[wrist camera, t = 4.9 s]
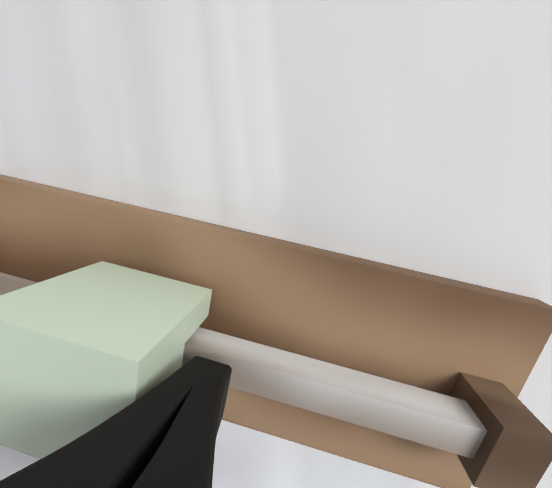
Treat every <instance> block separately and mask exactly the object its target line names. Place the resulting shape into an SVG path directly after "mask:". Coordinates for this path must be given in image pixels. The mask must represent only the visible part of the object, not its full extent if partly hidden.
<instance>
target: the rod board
mask: <svg viewBox="0 0 552 488" xmlns="http://www.w3.org/2000/svg"><path fill="white" fill-rule="evenodd" d="M101 261H104V262H108V263H112V264H116V265H120V266H123V267H127V268H131V269H135V270H139V271H143V272H147V273H150V274H154V275H158V276H162V277H166V278H170V279H174V280H177V281H181V282H185V283H189V284H193V285H197V286H201V287H204V288H208V289H212V295H211V301H210V308H209V314H208V316H207V318H206V319H205V320H204V321H203V322H202V324H201V325H200V326H199V327H198V328H197V329H196V331H195V332H194V333H193V334H192V335H191V337H190V338H189V339H188V340H187V341H186V343H185V346H184V353H183V361H182V366H183V365H184V364H186V363H187V362H188V361H189V360H191V359H192V358H193V357H195V356H199V357H203V358H206V359H210V360H213V361H217V362H220V363H223V364H227V365H230V367H231V368H232V372H231V377H230V383H229V388H228V393H227V398H226V403H225V408H224V413H223V416H222V420H225V421H228V422H231V423H235V424H238V425H241V426H244V427H248V428H251V429H254V430H257V431H260V432H264V433H267V434H270V435H273V436H277V437H280V438H283V439H286V440H289V441H293V442H296V443H299V444H302V445H305V446H309V447H312V448H315V449H318V450H322V451H325V452H328V453H331V454H334V455H338V456H341V457H344V458H347V459H351V460H354V461H357V462H360V463H363V464H367V465H370V466H373V467H376V468H379V469H383V470H386V471H389V472H392V473H396V474H399V475H402V476H405V477H408V478H412V479H415V480H418V481H421V482H425V483H428V484H431V485H434V486H437V487H441V488H470V487H471V485H472V484H473V486H475V487H478V488H535V487H536V486H537V484H538V483H539V481H540V479H541V478H542V476H543V474H544V473H545V471H546V469H547V468H548V466H549V464H550V463H551V461H552V433H551V432H550V431H549V430H548V429H547V428H546V427H545V426H544V425H543V424H542V423H541V422H540V421H539V420H538V419H537V418H536V417H535V416H534V415H533V414H532V413H531V412H530V411H529V410H528V409H527V407H526V406H525V405H524V404H523V403H522V402H521V401H520V400H519V399H518V398H517V397H518V395H519V394H520V392H521V390H522V388H523V386H524V384H525V382H526V380H527V378H528V376H529V375H530V373H531V371H532V369H533V367H534V365H535V363H536V361H537V359H538V357H539V355H540V354H541V352H542V350H543V348H544V346H545V344H546V342H547V340H548V338H549V336H550V335H551V333H552V306H550V305H548V304H546V303H544V302H542V301H540V300H538V299H534V298H529V297H525V296H521V295H516V294H512V293H508V292H503V291H499V290H495V289H491V288H486V287H482V286H478V285H473V284H469V283H465V282H460V281H456V280H452V279H448V278H443V277H439V276H435V275H430V274H426V273H422V272H417V271H413V270H409V269H405V268H400V267H396V266H392V265H387V264H383V263H379V262H374V261H370V260H366V259H362V258H357V257H353V256H349V255H344V254H340V253H336V252H331V251H327V250H323V249H319V248H314V247H310V246H306V245H301V244H297V243H293V242H288V241H284V240H280V239H276V238H271V237H267V236H263V235H258V234H254V233H250V232H245V231H241V230H237V229H233V228H228V227H224V226H220V225H215V224H211V223H207V222H202V221H198V220H194V219H189V218H185V217H181V216H177V215H172V214H168V213H164V212H159V211H155V210H151V209H146V208H142V207H138V206H134V205H129V204H125V203H121V202H116V201H112V200H108V199H103V198H99V197H95V196H91V195H86V194H82V193H78V192H73V191H69V190H65V189H60V188H56V187H52V186H48V185H43V184H39V183H35V182H30V181H26V180H22V179H17V178H13V177H9V176H5V175H0V295H3V294H6V293H9V292H12V291H15V290H18V289H21V288H24V287H27V286H30V285H33V284H36V283H39V282H42V281H45V280H48V279H51V278H54V277H56V276H59V275H62V274H65V273H68V272H71V271H74V270H77V269H80V268H83V267H86V266H89V265H92V264H95V263H98V262H101Z"/></svg>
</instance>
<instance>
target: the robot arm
mask: <svg viewBox="0 0 552 488" xmlns="http://www.w3.org/2000/svg"><path fill="white" fill-rule="evenodd" d="M231 372H232V368H231V367H230V365H227V364H223V363H220V362H217V361H213V360H210V359H206V358H203V357H199V356H195V357H193V358H192V359H191V360H189V361H188V362H187V363H186V364H184V365H183V366H182V367H180V368H179V369H178V370H177V371H175V372H174V373H173V374H171V375H170V376H169V377H167V378H166V379H165V380H163V381H162V382H161V383H159V384H158V385H157V386H155V387H154V388H152V389H151V390H150V391H148V392H147V393H145V394H144V395H143V396H141V397H140V398H138V399H137V400H136V401H134V402H133V403H131V404H130V405H128V406H127V407H125V408H124V409H122V410H121V411H119V412H118V413H116V414H115V415H113V416H112V417H110V418H109V419H107V420H106V421H104V422H102V423H101V424H99V425H98V426H96V427H95V428H93V429H91V430H90V431H88V432H87V433H85V434H83V435H82V436H80V437H78V438H77V439H75V440H73V441H72V442H70V443H68V444H67V445H65V446H63V447H61V448H60V449H58V450H56V451H54V452H53V453H51V454H49V455H47V456H46V457H44V458H42V459H40V460H38V461H37V462H35V463H33V464H31V465H29V466H27V467H25V468H24V469H22V470H20V471H18V472H16V473H14V474H12V475H10V476H9V477H7V478H5V479H3V480H1V481H0V488H212V476H213V463H214V451H215V441H216V436H217V432H218V429H219V426H220V423H221V419H222V416H223V413H224V408H225V403H226V398H227V393H228V388H229V383H230V377H231Z"/></svg>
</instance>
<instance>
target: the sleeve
mask: <svg viewBox="0 0 552 488" xmlns="http://www.w3.org/2000/svg"><path fill="white" fill-rule="evenodd" d="M211 295H212V289H208V288H204V287H201V286H197V285H193V284H189V283H185V282H181V281H177V280H174V279H170V278H166V277H162V276H158V275H154V274H150V273H147V272H143V271H139V270H135V269H131V268H127V267H123V266H120V265H116V264H112V263H108V262H104V261H101V262H98V263H95V264H92V265H89V266H86V267H83V268H80V269H77V270H74V271H71V272H68V273H65V274H62V275H59V276H56V277H54V278H51V279H48V280H45V281H42V282H39V283H36V284H33V285H30V286H27V287H24V288H21V289H18V290H15V291H12V292H9V293H6V294H3V295H0V445H3V446H6V447H9V448H12V449H15V450H17V451H20V452H23V453H26V454H29V455H32V456H34V457H37V458H40V459H42V458H44V457H46V456H47V455H49V454H51V453H53V452H54V451H56V450H58V449H60V448H61V447H63V446H65V445H67V444H68V443H70V442H72V441H73V440H75V439H77V438H78V437H80V436H82V435H83V434H85V433H87V432H88V431H90V430H91V429H93V428H95V427H96V426H98V425H99V424H101V423H102V422H104V421H106V420H107V419H109V418H110V417H112V416H113V415H115V414H116V413H118V412H119V411H121V410H122V409H124V408H125V407H127V406H128V405H130V404H131V403H133V402H134V401H136V400H137V399H138V398H140V397H141V396H143V395H144V394H145V393H147V392H148V391H150V390H151V389H152V388H154V387H155V386H157V385H158V384H159V383H161V382H162V381H163V380H165V379H166V378H167V377H169V376H170V375H171V374H173V373H174V372H175V371H177V370H178V369H179V368H180V367H182V361H183V353H184V346H185V343H186V341H187V340H188V339H189V338H190V337H191V335H192V334H193V333H194V332H195V331H196V329H197V328H198V327H199V326H200V325H201V324H202V322H203V321H204V320H205V319H206V318H207V316H208V314H209V308H210V301H211Z"/></svg>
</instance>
